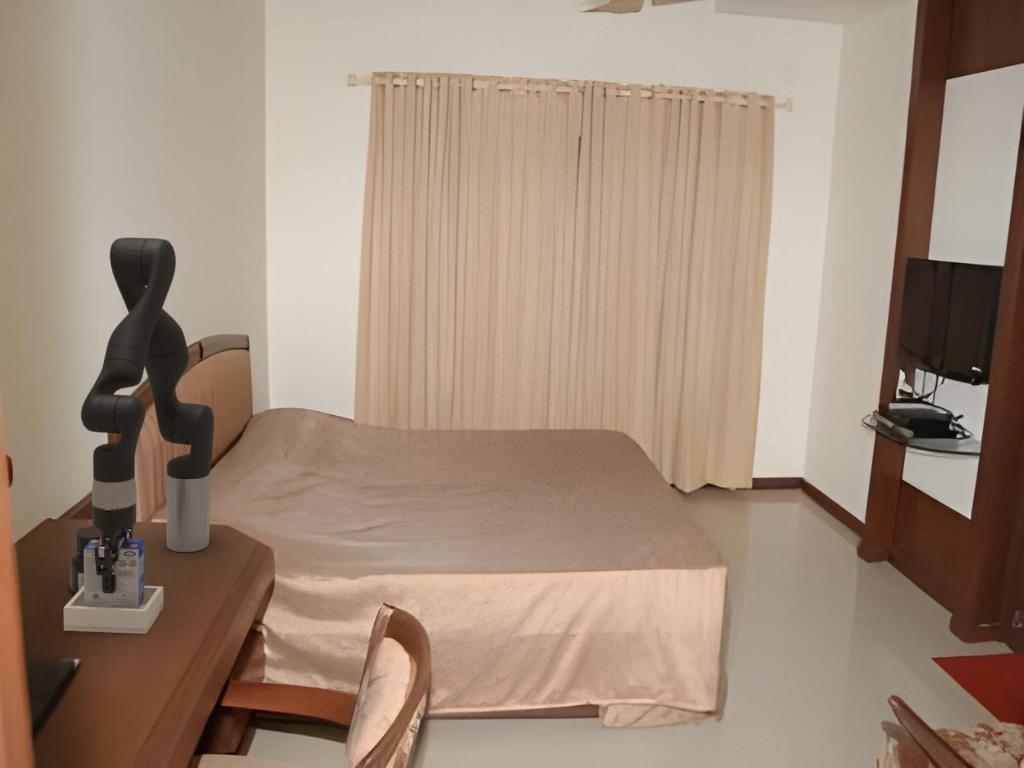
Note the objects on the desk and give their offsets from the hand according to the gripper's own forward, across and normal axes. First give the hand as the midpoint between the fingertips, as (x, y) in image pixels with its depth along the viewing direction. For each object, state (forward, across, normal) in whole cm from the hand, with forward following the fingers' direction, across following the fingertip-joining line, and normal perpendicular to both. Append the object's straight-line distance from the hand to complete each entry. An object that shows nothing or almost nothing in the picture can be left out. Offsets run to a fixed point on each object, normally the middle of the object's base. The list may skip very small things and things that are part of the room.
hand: (115, 585), depth 172 cm
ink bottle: (+7, -13, -8) cm, 17 cm away
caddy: (+7, 0, 0) cm, 7 cm away
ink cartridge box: (+4, 0, 0) cm, 4 cm away
